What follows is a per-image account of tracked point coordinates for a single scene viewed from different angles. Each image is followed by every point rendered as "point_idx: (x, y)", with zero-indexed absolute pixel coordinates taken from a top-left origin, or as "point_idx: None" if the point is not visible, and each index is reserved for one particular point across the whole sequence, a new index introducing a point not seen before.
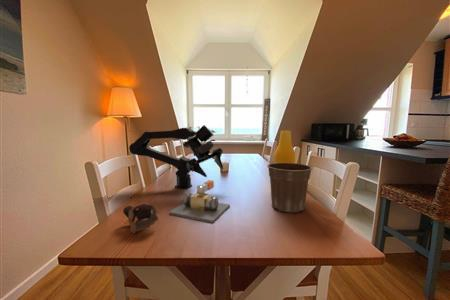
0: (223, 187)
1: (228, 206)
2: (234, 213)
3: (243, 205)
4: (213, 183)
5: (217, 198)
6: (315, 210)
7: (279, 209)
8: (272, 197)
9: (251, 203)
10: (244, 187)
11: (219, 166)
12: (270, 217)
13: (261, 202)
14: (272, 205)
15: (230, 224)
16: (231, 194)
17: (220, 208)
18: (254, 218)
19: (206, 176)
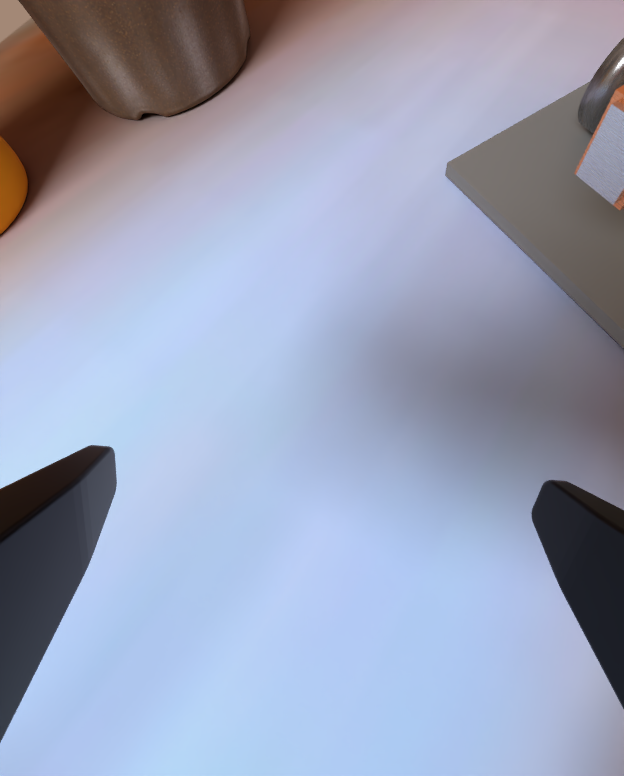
0: (161, 618)
1: (469, 154)
2: (482, 93)
3: (350, 156)
4: (605, 121)
5: (618, 47)
6: None
7: (248, 28)
8: (220, 4)
9: (282, 161)
10: (12, 468)
11: (66, 588)
12: (344, 12)
13: (218, 150)
14: (233, 65)
15: (580, 13)
16: (262, 368)
17: (551, 135)
18: (421, 24)
19: (551, 485)
